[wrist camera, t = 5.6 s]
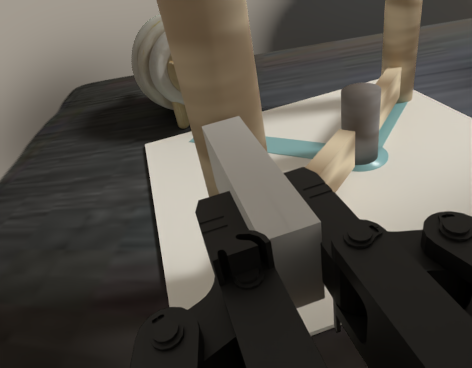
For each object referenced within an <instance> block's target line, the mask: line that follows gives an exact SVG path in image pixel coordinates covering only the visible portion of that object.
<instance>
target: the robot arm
mask: <svg viewBox="0 0 472 368" xmlns="http://www.w3.org/2000/svg"><path fill="white" fill-rule="evenodd" d="M202 130H203V134H204V138H205V142H206V146H207V150H208V155H209V159H210V163H211V167H212V171H213V175H214V179H215V183H216V187H217V189H218V191H219V194H217V195H214V196H211V197H208V198H204V199H201V200H198V204H197V207H196V211H195V213H196V217H197V220H198V224H199V227H200V230H201V234H202V237H203V240H204V244H205V247H206V250H207V253H208V256H209V259H210V262H211V266H212V269H213V272H214V275H215V278H214V283H213V285H212V288H211V290H210V291H209V292H208V294H207V295H206V296H205V297H204V298H203V299H202V300H201V301H199V302H198V303H197V304H195V305H194V306H192V307H191V308H189V309H188V310H187V309H185V308H182V307H168V308H165V309H162V310H159V311H157V312H156V313H154V314H153V315H151V316H150V317H148V318H147V319H146V321H145V322H144V323H143V324H142V325H141V327H140V328H139V331H138V334H137V336H136V339H135V344H134V349H133V354H132V359H131V364H130V368H327V366H326V364H325V362H324V360H323V359H322V357H321V355H320V353H319V351H318V349H317V347H316V345H315V343H314V341H313V339H312V337H311V335H310V334H309V332H308V330H307V328H306V326H305V324H304V322H303V320H302V318H301V316H300V314H299V312H298V310H297V308H300V307H302V306H305V305H308V304H311V303H313V302H316V301H319V300H322V299H324V298H325V289H324V285H325V287H326V288H327V290H328V291H329V293H330V295H331V296H332V298H333V312H334V327H335V330H336V332H337V333H338V332H340V322H341V324H342V326H343V327H344V329H345V330H346V332H347V334H348V335H349V337H350V339H351V340H352V342H353V343H354V345H355V347H356V348H357V350H358V352H359V353H360V355H361V356H362V358H363V360H364V361H365V363H366V364H367V366H368V368H472V216H469V215H466V214H464V213H459V212H452V211H446V212H437V213H435V214H432V215H430V216H429V217H428V218H427V219H426V220H425V221H424V224H423V230H411V231H387V230H386V229H384V228H383V227H382V226H380V225H379V224H377V223H375V222H372V221H369V220H363V219H359V218H358V217H357V216H356V215H355V214H354V213H353V212H352V211H351V209H350V208H349V207H348V206H347V205H346V204H345V203H344V202H343V201H342V200H341V199H340V198H339V196H338V195H337V194H336V193H335V192H333V191H332V189H331V188H330V187H329V186H328V185H327V184H326V183H325V181H324V180H323V179H322V178H321V177H320V176H319V175H318V174H317V173H316V172H314V171H312V170H309V169H307V168H305V167H301V168H298V169H294V170H291V171H288V172H285V173H283V172H282V171H281V170H280V168H279V167H278V166H277V164H276V163H275V162H274V161H273V159H272V158H271V157H270V155H269V154H268V153H267V151H266V150H265V149H264V148H263V146H262V145H261V144H260V142H259V141H258V140H257V139H256V137H255V136H254V135H253V133H252V132H251V131H250V130H249V128H248V127H247V126H246V124H245V123H244V122H243V120H242V119H241V118H240V117H239V116H237V117H233V118H230V119H226V120H222V121H219V122H215V123H212V124H208V125H205V126H202Z"/></svg>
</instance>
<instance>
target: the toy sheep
mask: <svg viewBox="0 0 472 368" xmlns="http://www.w3.org/2000/svg"><path fill="white" fill-rule="evenodd" d="M132 70H133V73H134V77H135V79H136V82H137V84H138V86H139V87H140V89H141V90H142V91H143V93H144V94H145V95H146V96H147V97H148V98H149V99H150V100H152V101H153V102H155V103H156V104H158V105H160V106H163V107H165V108H167V109H171V110H174V113H175V116H176V120H177V123H178V126H179V127H180V128H182V129H185V128H187V127H188V126H189V120H188V116H187V112H186V109H185V105H184V101H183V97H182V94H181V90H180V86H179V82H178V79H177V75H176V71H175V67H174V64H173V60H172V56H171V52H170V49H169V45H168V41H167V37H166V34H165V30H164V26H163V22H162V19H161V15H157V16H155V17H153V18H152V19H150V20H149V21H147V22H146V23H145V24H144V25H143V27H142V28H141V29H140V31H139V32H138V34H137V36H136V38H135V41H134V44H133V50H132Z"/></svg>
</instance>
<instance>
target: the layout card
mask: <svg viewBox="0 0 472 368" xmlns="http://www.w3.org/2000/svg"><path fill="white" fill-rule="evenodd" d="M378 80H379V79H377V80H374V81H370V82H366V83H373V84H376V82H377V81H378ZM341 90H342V89H341ZM341 90H338V91H334V92H331V93H327V94H323V95H320V96H316V97H313V98H309V99H306V100H302V101H298V102H295V103H291V104H288V105H284V106H281V107H277V108H273V109H270V110H266V111H263V112H262V116H263V124H264V131H265V138H266V145H267V152H268V154H269V155H270V157H271V158H272V159H273V161H274V162H275V163H276V164H277V166H278V167H279V168H280V170H281V171H282V172H283V173H285V172H288V171H291V170H294V169H298V168H301V167H306V166H307V165H308V163H309V162H310V161H311V160H312V159H313V158H314V157H315V156H316V154H317V153H318V152H319V151H320V150H321V149H322V148H323V147H324V146H325V144H326V143H327V142H328V141H329V140H330V139H331V138H332V137H333V136H334V134H335V133H336V132H337V131H338V130H339V129H341ZM145 149H146V155H147V162H148V168H149V175H150V182H151V188H152V195H153V201H154V208H155V214H156V221H157V228H158V234H159V241H160V247H161V254H162V261H163V267H164V274H165V280H166V287H167V294H168V300H169V307H182V308H185V309H187V310H188V309H189V308H191V307H192V306H194V305H195V304H197V303H198V302H199V301H201V300H202V299H203V298H204V297H205V296H206V295H207V294H208V292H209V291H210V290H211V288H212V285H213V283H214V278H215V275H214V272H213V269H212V266H211V262H210V259H209V256H208V253H207V250H206V247H205V244H204V240H203V237H202V234H201V230H200V227H199V224H198V220H197V217H196V213H195V211H196V207H197V204H198V200H201V199H204V198H208V197H209V195H208V191H207V187H206V184H205V180H204V176H203V172H202V169H201V165H200V161H199V157H198V154H197V150H196V146H195V142H194V139H193V135H192V131H191V132H187V133H184V134H180V135H177V136H173V137H169V138H166V139H162V140H159V141H155V142H152V143H148V144H145ZM336 194H337V195H338V196H339V198H340V199H341V200H342V201H343V202H344V203H345V204H346V205H347V206H348V207H349V208H350V209H351V211H352V212H353V213H354V214H355V215H356V216H357V217H358V218H359V219H363V220H369V221H372V222H375V223H377V224H379V225H380V226H382V227H383V228H384V229H386V230H387V231H411V230H423V224H424V221H425V220H426V219H427V218H428V217H429V216H430V215H432V214H435V213H437V212H446V211H452V212H459V213H464V214H466V215H469V216H472V118H470V117H468V116H466V115H464V114H462V113H460V112H458V111H456V110H454V109H452V108H450V107H448V106H446V105H444V104H442V103H440V102H438V101H436V100H433V99H431V98H429V97H427V96H425V95H423V94H421V93H419V92H417V91H415V90H413V96H412V100H411V101H409V102H404V103H398V104H395V105H394V107H393V109H392V110H391V112H390V114H389V115H388V117H387V118H386V120H385V122H384V123H383V125H382V127H381V128H380V130H379V142H378V157H377V159H376V160H375V161H374V162H372V163H370V164H366V165H355V167H354V168H353V170H352V171H351V172H350V174H349V175H348V177H347V178H346V179H345V181H344V182H343V183H342V185H341V186H340V187H339V189H338V190H337V191H336ZM324 289H325V298H324V299H322V300H319V301H316V302H313V303H311V304H308V305H305V306H302V307H300V308H297V310H298V312H299V314H300V316H301V318H302V320H303V322H304V324H305V326H306V328H307V330H308V332H309V334H310V335H311V336H312V335H315V334H318V333H320V332H323V331H326V330H329V329H331V328H334V312H333V298H332V296H331V295H330V293H329V291H328V290H327V288H326V287H325V285H324ZM340 325H342V324H341V322H340Z"/></svg>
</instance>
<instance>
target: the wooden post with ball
mask: <svg viewBox="0 0 472 368" xmlns="http://www.w3.org/2000/svg"><path fill="white" fill-rule="evenodd" d="M421 10H422V0H385V16H384V34H383V53H382V72H381V77H380V78H379V80H378V81H377V82H376V84H373V83H355V84H351V85H348V86H346V87H344V88H343V89H342V90H341V129H342V130H348V131H355V165H366V164H370V163H372V162H374V161H375V160H376V159H377V157H378V142H379V130H380V128H381V127H382V125H383V123H384V122H385V120H386V118H387V117H388V115H389V114H390V112H391V110H392V109H393V107H394V105H395V104H398V103H404V102H409V101H411V100H412V96H413V86H414V76H415V67H416V57H417V48H418V38H419V29H420V18H421Z"/></svg>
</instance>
